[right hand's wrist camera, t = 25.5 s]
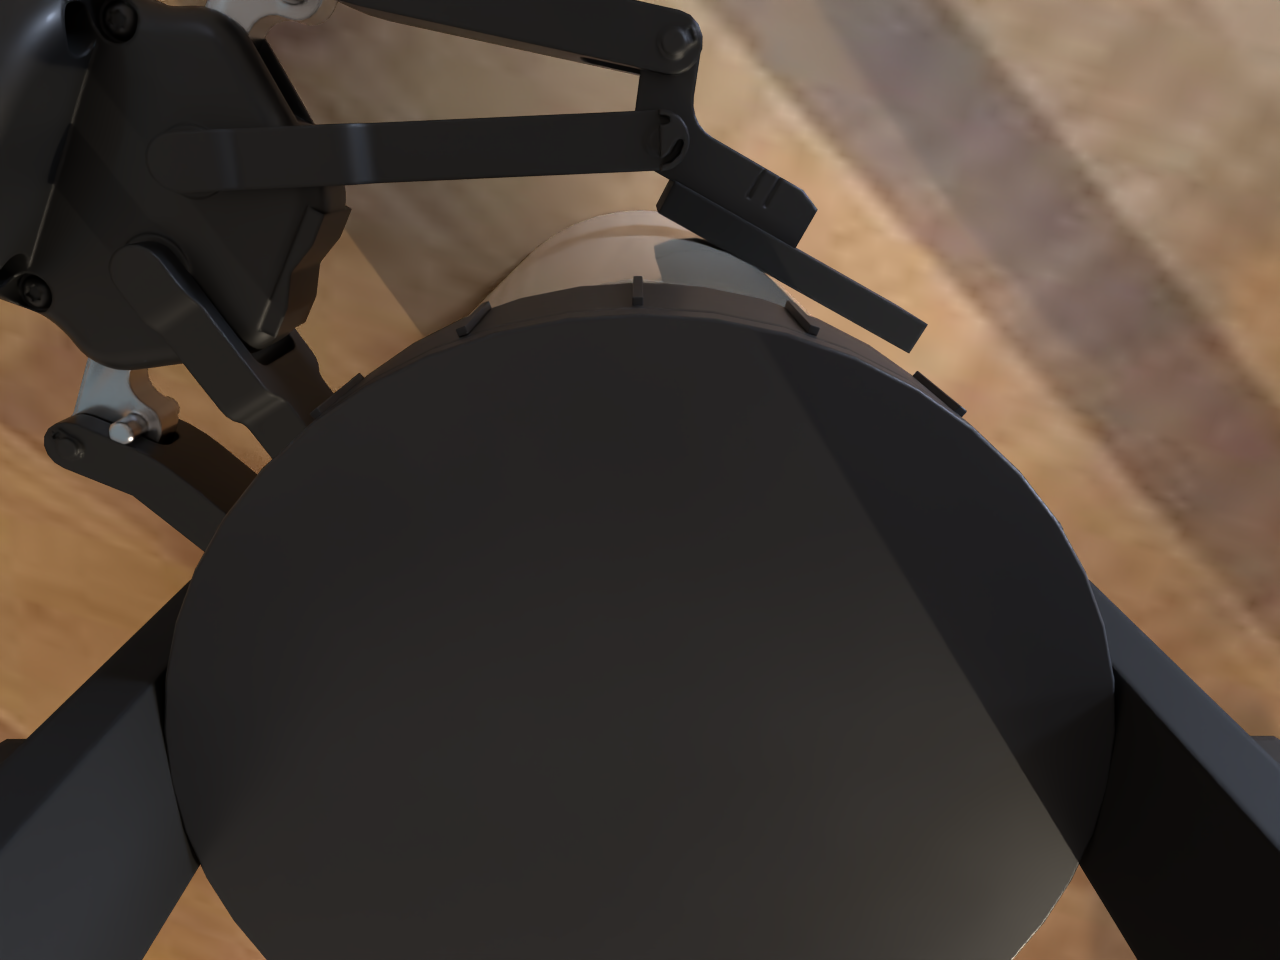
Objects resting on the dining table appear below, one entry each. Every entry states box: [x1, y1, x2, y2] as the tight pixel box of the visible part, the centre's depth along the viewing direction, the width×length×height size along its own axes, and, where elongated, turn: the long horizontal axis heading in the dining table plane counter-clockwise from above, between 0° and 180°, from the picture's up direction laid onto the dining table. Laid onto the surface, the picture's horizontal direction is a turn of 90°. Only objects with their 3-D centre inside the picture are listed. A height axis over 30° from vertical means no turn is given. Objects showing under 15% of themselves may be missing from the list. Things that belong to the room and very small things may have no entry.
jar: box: [468, 210, 813, 317], centre depth 20 cm, size 10×10×19 cm
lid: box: [164, 276, 1115, 960], centre depth 12 cm, size 11×11×2 cm
